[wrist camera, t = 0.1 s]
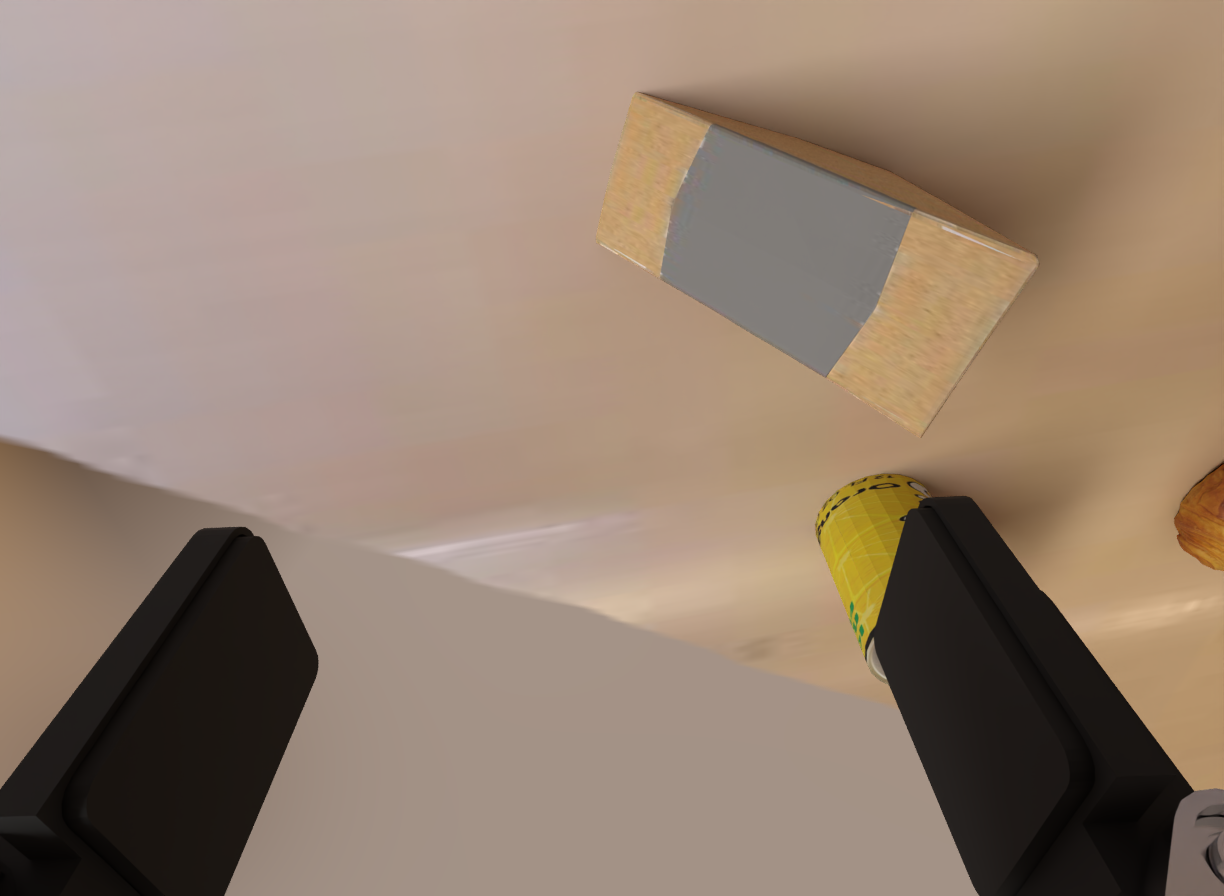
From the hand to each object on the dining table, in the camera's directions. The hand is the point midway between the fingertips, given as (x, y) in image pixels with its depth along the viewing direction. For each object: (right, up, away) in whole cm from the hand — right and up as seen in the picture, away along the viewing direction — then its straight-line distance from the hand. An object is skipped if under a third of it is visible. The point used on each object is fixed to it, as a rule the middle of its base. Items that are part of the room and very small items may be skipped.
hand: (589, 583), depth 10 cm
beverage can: (+21, -3, +41) cm, 46 cm away
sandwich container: (+8, +16, +28) cm, 33 cm away
